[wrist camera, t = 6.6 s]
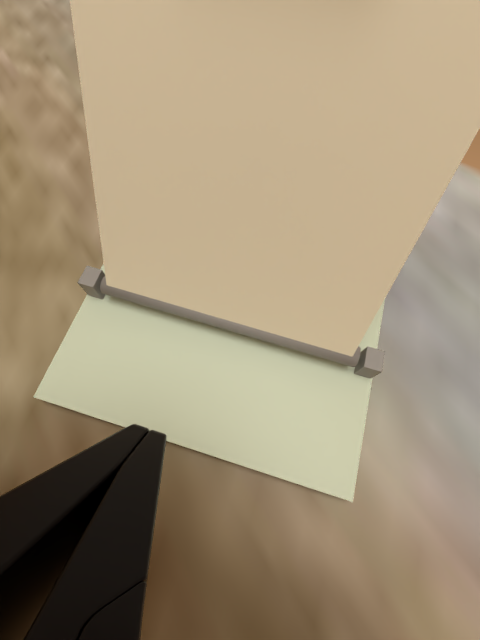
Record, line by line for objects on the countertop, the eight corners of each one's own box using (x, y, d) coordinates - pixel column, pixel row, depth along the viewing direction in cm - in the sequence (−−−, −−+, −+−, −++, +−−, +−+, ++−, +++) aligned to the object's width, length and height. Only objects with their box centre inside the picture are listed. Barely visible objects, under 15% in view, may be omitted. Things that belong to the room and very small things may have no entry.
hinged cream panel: (352, 371, 16) (616, -83, 7) (101, 297, 17) (32, -180, 8) (352, 356, 17) (589, -70, 7) (112, 286, 18) (60, -161, 9)
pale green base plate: (345, 499, 15) (364, 506, 13) (44, 400, 17) (15, 391, 15) (393, 209, 22) (412, 181, 19) (170, 154, 23) (163, 121, 21)
